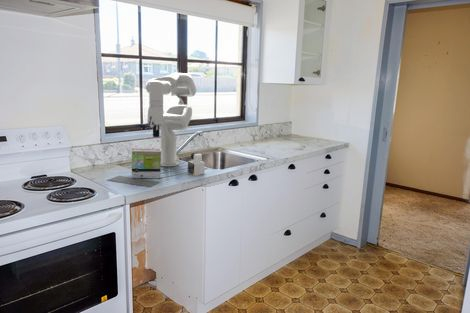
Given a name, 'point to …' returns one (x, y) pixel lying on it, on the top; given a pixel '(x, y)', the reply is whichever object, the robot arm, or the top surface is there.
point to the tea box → (146, 163)
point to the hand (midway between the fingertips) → (156, 136)
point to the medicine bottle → (196, 164)
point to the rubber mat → (134, 181)
